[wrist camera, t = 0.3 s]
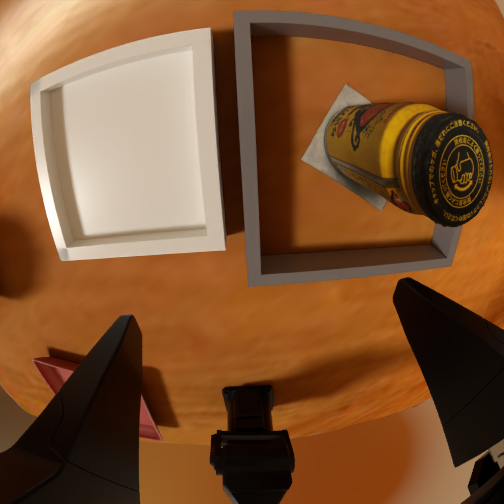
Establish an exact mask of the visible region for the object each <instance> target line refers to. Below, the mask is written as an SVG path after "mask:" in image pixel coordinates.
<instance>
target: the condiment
mask: <svg viewBox="0 0 504 504" xmlns="http://www.w3.org/2000/svg"><path fill="white" fill-rule="evenodd" d="M301 160H303V161H304V162H306V163H308V164H309V165H311V166H313V167H314V168H316V169H318V170H319V171H321V172H323V173H324V174H326V175H328V176H329V177H331V178H332V179H334V180H336V181H337V182H339V183H340V184H342V185H343V186H345V187H347V188H348V189H350V190H351V191H353V192H354V193H356V194H357V195H359V196H360V197H362V198H363V199H364V200H366V201H367V202H369V203H370V204H372V205H373V206H375V207H376V208H377V209H379V210H380V211H382V209H383V207H384V206H385V204H386V201H387V200H388V201H389V202H391V203H392V204H394V205H395V206H397V207H399V208H400V209H402V210H404V211H406V212H409V213H412V214H418V215H425V216H427V217H429V218H430V219H431V220H433V221H434V222H435V223H436V224H441V225H442V226H443V227H446V226H448V227H458V226H461V225H463V224H465V223H467V222H468V221H470V220H471V219H472V218H474V217H475V216H476V215H477V214H478V213H479V211H480V209H481V208H482V207H483V206H484V203H485V201H486V199H487V197H488V193H489V191H490V188H491V184H492V177H493V160H492V154H491V149H490V145H489V142H488V140H487V138H486V136H485V134H484V133H483V131H482V129H481V128H480V127H479V126H478V124H477V123H476V122H475V121H474V120H471V119H469V118H468V117H465V116H464V115H462V114H457V113H449V112H446V111H441V110H439V109H437V108H435V107H433V106H431V105H427V104H423V103H412V102H406V103H381V104H373V103H371V102H370V101H369V100H367V99H366V98H365V97H363V96H362V95H361V94H360V93H358V92H357V91H355V90H354V89H352V88H351V87H350V86H348V85H347V84H345V85H344V87H343V89H342V91H341V92H340V94H339V95H338V97H337V99H336V101H335V102H334V104H333V105H332V107H331V109H330V111H329V112H328V114H327V115H326V117H325V119H324V121H323V123H322V124H321V126H320V128H319V129H318V131H317V133H316V135H315V136H314V138H313V140H312V142H311V144H310V145H309V147H308V149H307V151H306V152H305V154H304V156H303V157H302V159H301Z"/></svg>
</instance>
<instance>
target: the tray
mask: <svg viewBox="0 0 504 504" xmlns="http://www.w3.org/2000/svg"><path fill="white" fill-rule="evenodd" d="M30 99H31V121H32V133H33V143H34V151H35V158H36V164H37V171H38V176H39V182H40V187H41V191H42V196H43V200H44V205H45V209H46V213H47V217H48V220H49V224H50V228H51V231H52V234H53V238H54V241H55V244H56V247H57V250H58V253H59V256H60V259H61V261H69V260H84V259H98V258H113V257H128V256H143V255H158V254H173V253H189V252H204V251H220V250H226V238H227V234H226V223H225V212H224V200H223V188H222V175H221V162H220V148H219V133H218V117H217V100H216V82H215V61H214V38H213V35H212V31H211V28H203V29H195V30H188V31H182V32H176V33H170V34H165V35H160V36H156V37H151V38H147V39H143V40H139V41H135V42H131V43H128V44H124V45H121V46H118V47H114V48H111V49H108V50H105V51H102V52H100V53H97V54H94V55H91V56H89V57H86V58H84V59H81V60H79V61H76V62H74V63H71V64H69V65H67V66H65V67H62V68H60V69H58V70H56V71H54V72H52V73H50V74H48V75H46V76H44V77H42V78H40V79H38V80H36V81H34V82H33V83H31V84H30Z"/></svg>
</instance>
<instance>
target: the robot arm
mask: <svg viewBox="0 0 504 504" xmlns="http://www.w3.org/2000/svg"><path fill="white" fill-rule="evenodd" d="M393 303H394V306H395V308H396V311H397V313H398V316H399V319H400V321H401V324H402V327H403V329H404V332H405V335H406V337H407V339H408V342H409V344H410V346H411V348H412V350H413V353H414V355H415V357H416V359H417V362H418V364H419V366H420V369H421V371H422V373H423V376H424V378H425V381H426V383H427V386H428V388H429V391H430V393H431V396H432V398H433V401H434V404H435V406H436V409H437V412H438V414H439V418H440V421H441V423H442V427H443V430H444V433H445V436H446V439H447V442H448V446H449V449H450V453H451V457H452V460H453V464H454V466H455V467H458V466H460V465H462V464H463V463H465V462H467V461H469V460H471V459H473V458H474V457H476V456H478V455H480V454H481V453H483V452H485V451H486V450H489V451H487V452H486V454H484V455H483V456H482V457H481V458H479V459H478V460H477V461H476V462H475V465H474V468H473V472H472V475H471V478H470V481H469V484H468V489H469V492H470V495H471V496H470V497H469V498H467V499H466V500H465V501H463V502H462V503H461V504H504V330H503V329H501V328H499V327H498V326H496V325H494V324H493V323H491V322H489V321H487V320H486V319H483V318H482V317H481V316H479V315H477V314H475V313H474V312H472V311H470V310H469V309H467V308H465V307H463V306H461V305H460V304H458V303H456V302H454V301H453V300H451V299H449V298H447V297H445V296H444V295H442V294H440V293H438V292H436V291H434V290H433V289H431V288H429V287H427V286H425V285H423V284H421V283H419V282H418V281H416V280H414V279H412V278H409V277H407V278H402V279H400V280H399V281H398V283H397V286H396V289H395V292H394V294H393ZM141 393H142V333H141V330H140V328H139V326H138V324H137V321H136V319H135V317H134V316H133V315H131V314H129V315H121V316H120V317H119V318H118V319H117V320H116V321H115V322H114V323H113V325H112V326H111V327H110V328H109V329H108V330H107V332H106V333H105V334H104V335H103V336H102V337H101V339H100V340H99V341H98V342H97V343H96V345H95V346H94V347H93V348H92V349H91V351H90V352H89V353H88V354H87V356H86V357H85V358H84V359H83V360H82V362H81V363H80V364H79V365H78V367H77V368H76V369H75V370H74V372H73V373H72V374H71V376H70V377H69V378H68V379H67V381H66V382H65V383H64V385H63V386H62V387H61V388H60V390H59V392H57V394H56V395H55V396H54V398H53V399H52V400H51V401H50V403H49V404H48V405H47V407H46V408H45V409H44V410H43V412H42V413H41V414H40V415H39V416H38V418H37V419H36V420H35V421H34V422H33V424H31V426H30V427H29V428H28V429H27V430H26V431H25V433H24V434H23V435H22V436H21V437H20V438H19V439H18V441H17V442H16V443H15V444H14V445H13V446H12V447H11V448H9V449H8V450H6V451H4V452H1V453H0V504H140V493H139V425H140V407H141ZM222 394H223V398H224V402H225V406H226V410H227V412H228V431H221V430H217V434H214V435H211V452H210V464H211V465H212V466H213V467H214V470H216V475H223V490H224V492H225V493H226V495H227V496H228V497H229V499H230V500H231V501H232V503H233V504H279V503H280V501H281V500H282V498H283V496H284V495H285V493H286V492H287V490H289V488H290V486H291V484H292V477H291V473H293V471H294V467H295V459H294V452H293V449H292V445H291V442H290V438H289V435H288V431H287V430H282V431H273V425H272V416H271V411H272V409H273V387H272V386H260V387H243V388H224V389H222ZM221 447H223V448H221Z"/></svg>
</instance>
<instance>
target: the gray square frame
mask: <svg viewBox="0 0 504 504" xmlns="http://www.w3.org/2000/svg"><path fill="white" fill-rule="evenodd" d="M233 20H234V42H235V63H236V82H237V102H238V120H239V139H240V157H241V174H242V191H243V208H244V225H245V241H246V257H247V273H248V287H251V286H266V285H280V284H293V283H305V282H317V281H328V280H339V279H349V278H359V277H368V276H378V275H386V274H395V273H403V272H412V271H420V270H427V269H435V268H442V267H449V266H451V265H452V262H453V258H454V255H455V251H456V247H457V244H458V240H459V236H460V232H461V227H462V225H461V226H458V227H448V226H446V227H443V226H442V225H441V224H435V229H434V233H433V238H432V242H431V244H429V245H415V246H401V247H386V248H372V249H357V250H342V251H327V252H312V253H297V254H282V255H266V256H260V231H259V205H258V180H257V157H256V134H255V113H254V92H253V73H252V54H251V36H294V37H307V38H318V39H326V40H334V41H341V42H347V43H353V44H358V45H363V46H368V47H373V48H377V49H381V50H386V51H389V52H393V53H397V54H400V55H404V56H407V57H411V58H414V59H417V60H420V61H423V62H426V63H429V64H431V65H434V66H437V67H439V68H442V69H444V70H445V82H446V111H447V112H449V113H457V114H462V115H464V116H465V117H468V118H469V119H471V120H474V91H473V77H472V67H471V61H469V60H467V59H465V58H463V57H461V56H459V55H457V54H455V53H453V52H450V51H448V50H446V49H444V48H441V47H439V46H437V45H434V44H432V43H429V42H427V41H424V40H422V39H419V38H416V37H413V36H410V35H408V34H405V33H401V32H398V31H395V30H392V29H388V28H385V27H381V26H377V25H373V24H369V23H365V22H361V21H356V20H351V19H346V18H340V17H334V16H328V15H321V14H312V13H302V12H289V11H233Z"/></svg>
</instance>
